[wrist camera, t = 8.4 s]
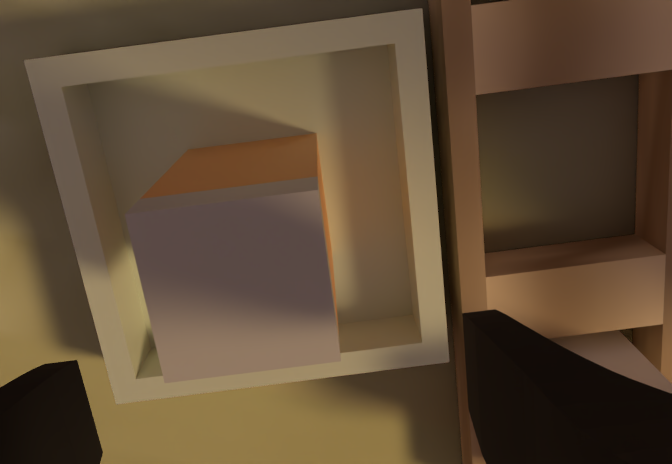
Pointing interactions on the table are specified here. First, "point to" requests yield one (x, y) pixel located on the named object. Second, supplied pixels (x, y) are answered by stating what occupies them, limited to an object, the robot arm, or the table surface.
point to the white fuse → (615, 356)
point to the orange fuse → (238, 260)
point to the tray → (245, 126)
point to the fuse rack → (566, 258)
